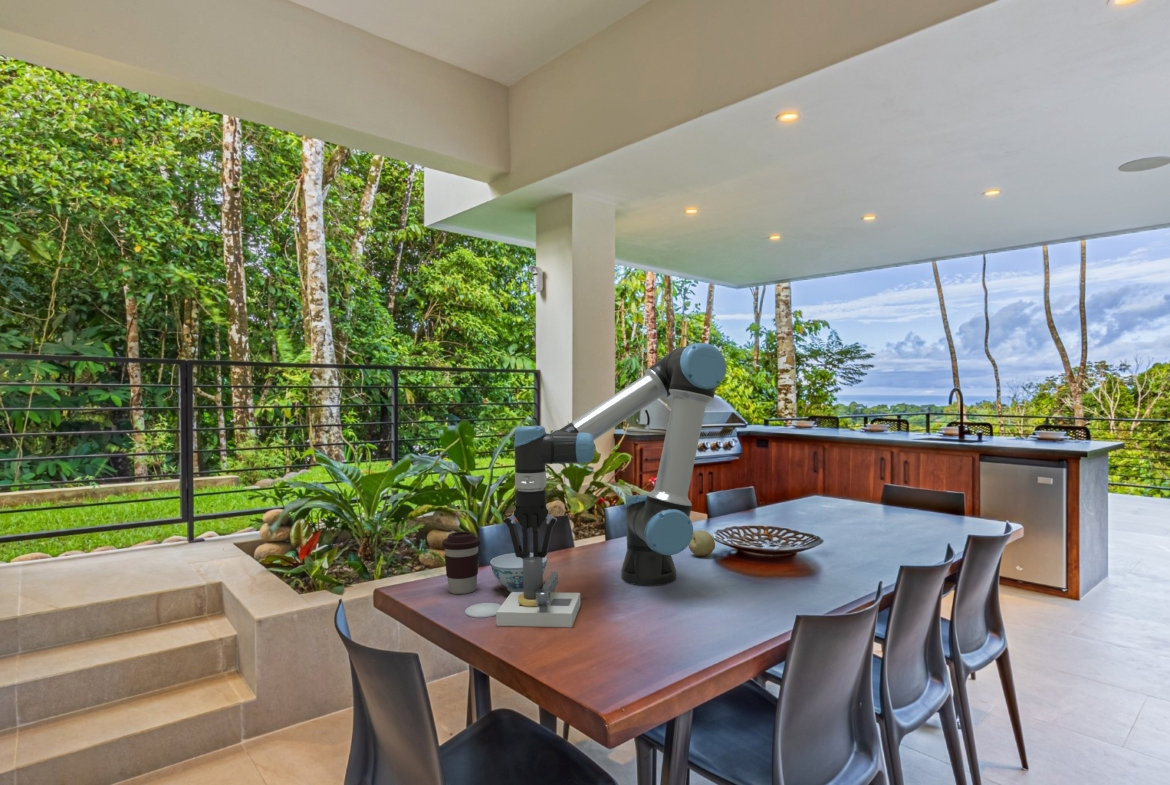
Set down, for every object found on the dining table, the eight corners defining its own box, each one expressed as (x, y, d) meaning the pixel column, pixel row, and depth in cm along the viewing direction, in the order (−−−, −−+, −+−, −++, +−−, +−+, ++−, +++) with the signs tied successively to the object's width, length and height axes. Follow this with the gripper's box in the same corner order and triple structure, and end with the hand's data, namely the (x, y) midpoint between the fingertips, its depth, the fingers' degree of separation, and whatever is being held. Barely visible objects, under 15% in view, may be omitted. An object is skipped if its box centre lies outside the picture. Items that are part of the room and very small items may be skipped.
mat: (507, 604, 147) (507, 603, 147) (497, 618, 138) (497, 616, 138) (472, 604, 148) (472, 602, 148) (460, 617, 139) (459, 615, 139)
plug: (552, 609, 143) (550, 555, 143) (546, 621, 135) (544, 563, 136) (522, 609, 143) (521, 554, 144) (515, 620, 136) (513, 563, 136)
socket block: (580, 605, 145) (580, 587, 145) (571, 627, 131) (571, 607, 131) (512, 604, 147) (511, 586, 147) (496, 625, 133) (496, 605, 133)
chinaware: (480, 595, 155) (479, 565, 155) (507, 578, 169) (506, 551, 169) (533, 600, 150) (532, 569, 150) (556, 582, 164) (555, 554, 164)
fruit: (688, 553, 191) (687, 528, 191) (714, 553, 190) (713, 528, 190) (688, 559, 184) (688, 533, 184) (716, 559, 182) (715, 533, 182)
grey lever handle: (548, 605, 131) (548, 594, 131) (534, 605, 132) (534, 594, 132) (561, 582, 148) (561, 572, 148) (548, 582, 148) (548, 572, 148)
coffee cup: (473, 597, 153) (471, 538, 154) (437, 595, 155) (435, 537, 156) (487, 585, 163) (485, 530, 163) (453, 584, 165) (451, 529, 165)
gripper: (500, 491, 144) (502, 590, 143) (554, 491, 142) (555, 591, 142) (508, 486, 151) (509, 580, 151) (559, 487, 149) (561, 581, 149)
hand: (532, 585), depth 146 cm, fingers closed
